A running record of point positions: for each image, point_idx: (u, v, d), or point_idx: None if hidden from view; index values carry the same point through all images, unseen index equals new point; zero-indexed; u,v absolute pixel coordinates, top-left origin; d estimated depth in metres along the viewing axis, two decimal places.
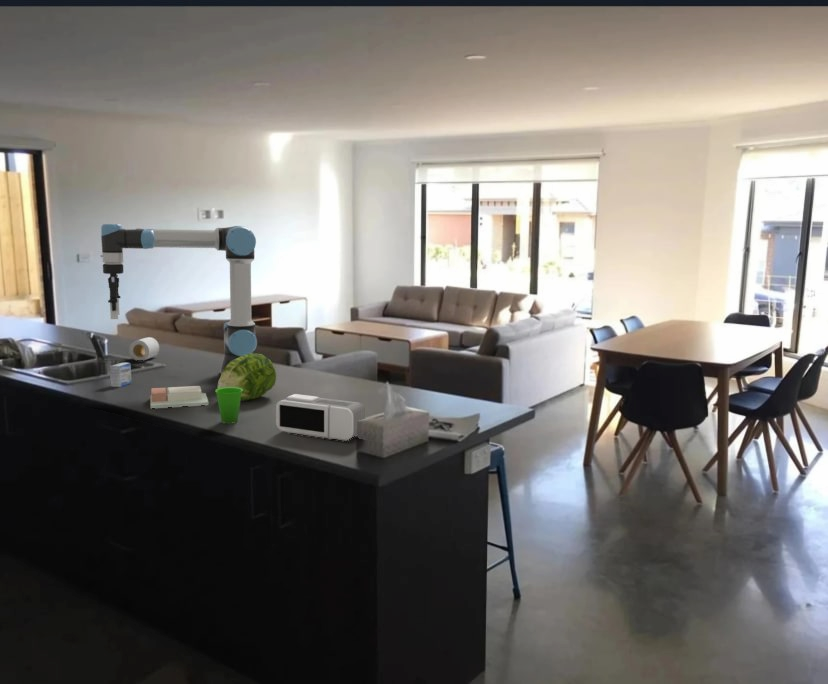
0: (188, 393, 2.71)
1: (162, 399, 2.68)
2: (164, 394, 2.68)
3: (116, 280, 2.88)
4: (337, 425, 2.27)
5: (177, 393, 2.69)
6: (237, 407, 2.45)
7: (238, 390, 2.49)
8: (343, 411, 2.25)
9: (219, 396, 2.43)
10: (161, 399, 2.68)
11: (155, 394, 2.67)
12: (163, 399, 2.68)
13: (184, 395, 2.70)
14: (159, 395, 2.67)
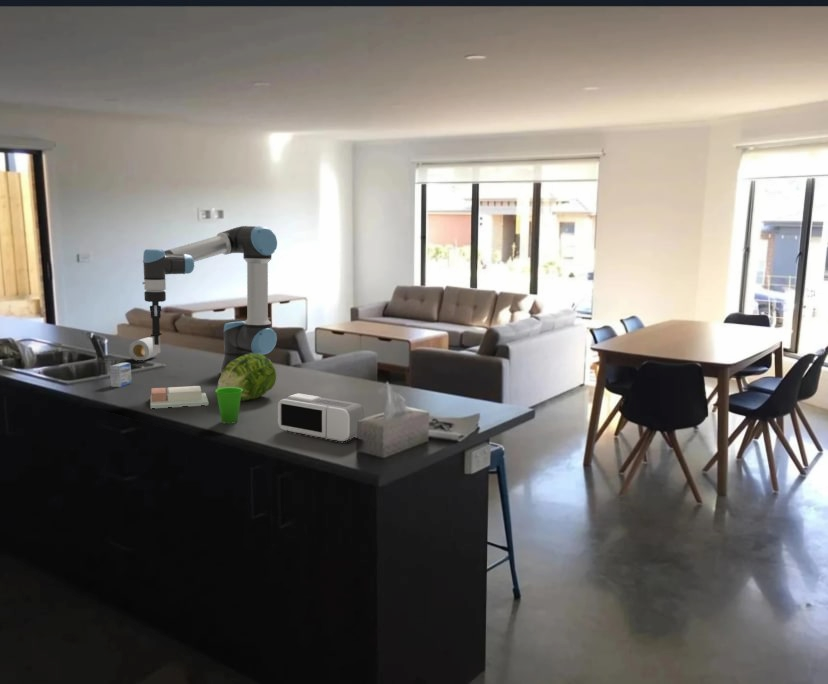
0: (188, 393, 2.71)
1: (162, 399, 2.68)
2: (164, 394, 2.68)
3: None
4: (334, 426, 2.26)
5: (177, 393, 2.69)
6: (237, 407, 2.45)
7: (238, 390, 2.49)
8: (340, 412, 2.24)
9: (219, 396, 2.43)
10: (161, 399, 2.68)
11: (155, 394, 2.67)
12: (163, 399, 2.68)
13: (184, 395, 2.70)
14: (159, 395, 2.67)
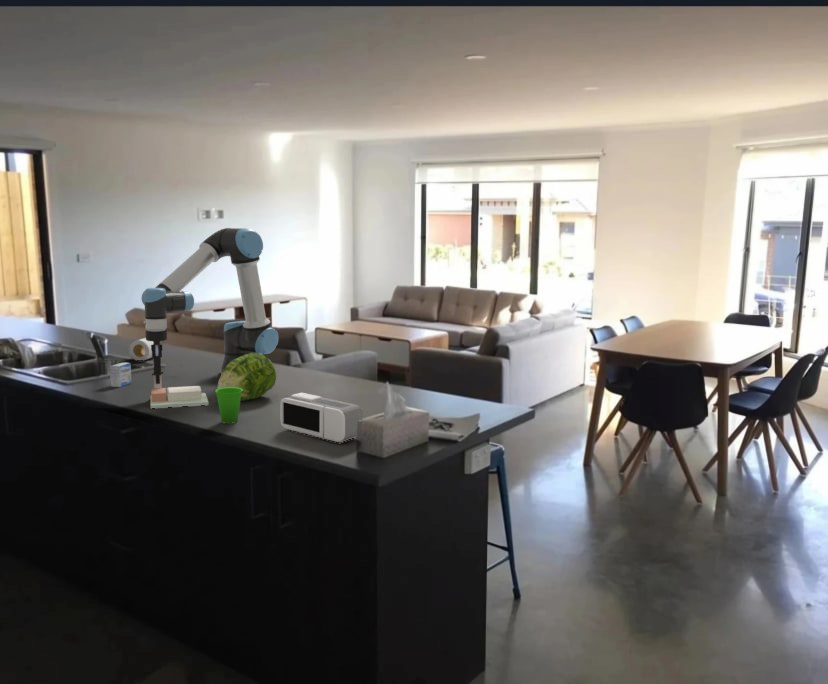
0: (188, 393, 2.71)
1: (162, 399, 2.67)
2: (164, 394, 2.68)
3: (159, 348, 2.72)
4: (330, 426, 2.26)
5: (177, 393, 2.69)
6: (237, 407, 2.45)
7: (238, 390, 2.49)
8: (335, 412, 2.24)
9: (219, 396, 2.43)
10: (161, 399, 2.67)
11: (155, 394, 2.66)
12: (163, 399, 2.68)
13: (184, 395, 2.70)
14: (159, 395, 2.67)
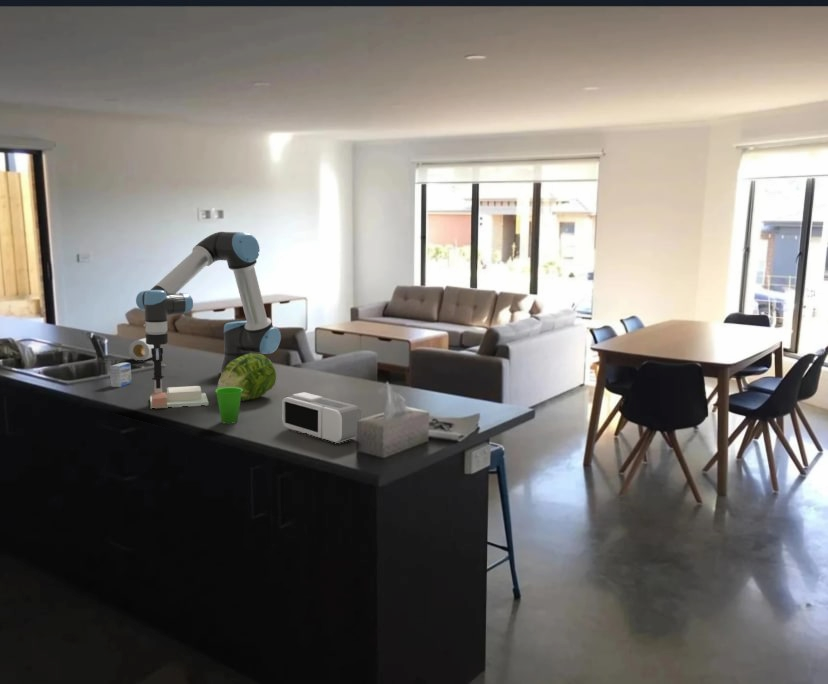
0: (188, 393, 2.71)
1: (162, 404, 2.61)
2: (165, 399, 2.61)
3: (160, 352, 2.65)
4: (328, 427, 2.25)
5: (177, 393, 2.69)
6: (237, 407, 2.45)
7: (238, 390, 2.49)
8: (333, 413, 2.23)
9: (219, 396, 2.43)
10: (161, 404, 2.60)
11: (155, 399, 2.59)
12: (164, 404, 2.61)
13: (184, 395, 2.70)
14: (159, 400, 2.60)
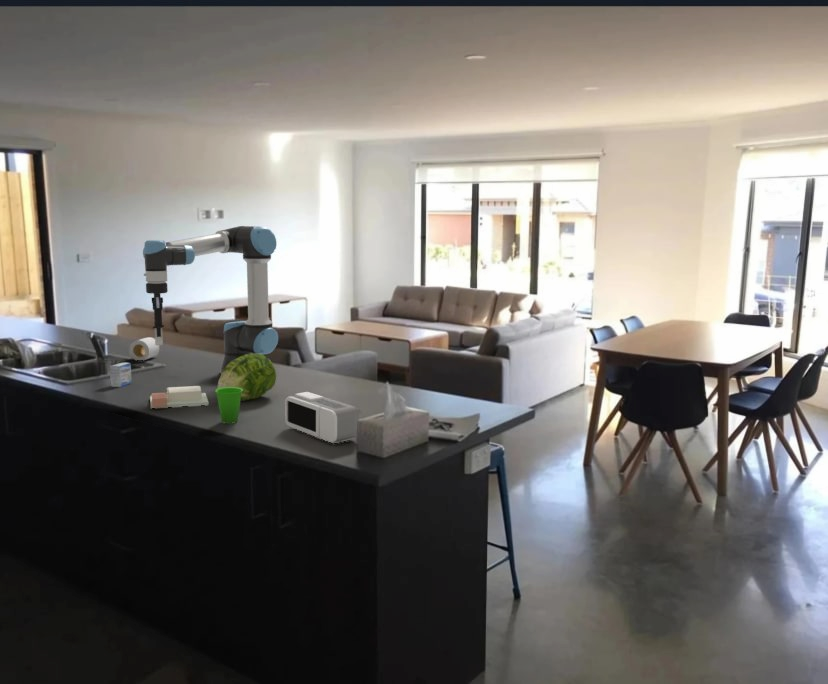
0: (188, 393, 2.71)
1: (162, 404, 2.60)
2: (165, 399, 2.60)
3: None
4: (324, 427, 2.25)
5: (177, 393, 2.69)
6: (237, 407, 2.45)
7: (238, 390, 2.49)
8: (329, 413, 2.23)
9: (219, 396, 2.43)
10: (161, 404, 2.60)
11: (155, 399, 2.59)
12: (164, 404, 2.61)
13: (184, 395, 2.70)
14: (159, 400, 2.60)
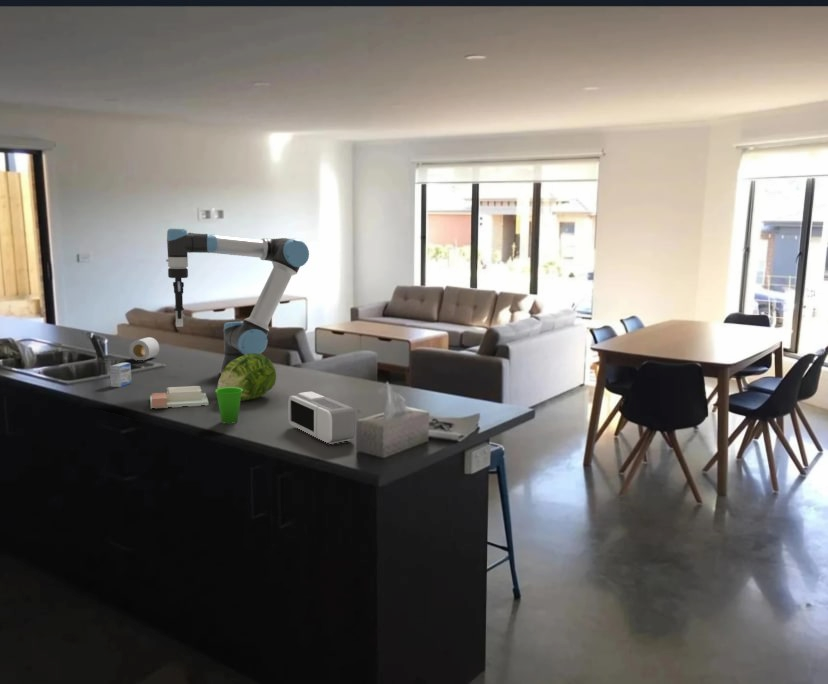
0: (188, 393, 2.71)
1: (162, 404, 2.60)
2: (165, 399, 2.60)
3: (181, 285, 2.91)
4: (321, 427, 2.25)
5: (177, 393, 2.69)
6: (237, 407, 2.45)
7: (238, 390, 2.49)
8: (324, 413, 2.22)
9: (219, 396, 2.43)
10: (161, 404, 2.60)
11: (155, 399, 2.59)
12: (164, 404, 2.61)
13: (184, 395, 2.70)
14: (159, 400, 2.60)
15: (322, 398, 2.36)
